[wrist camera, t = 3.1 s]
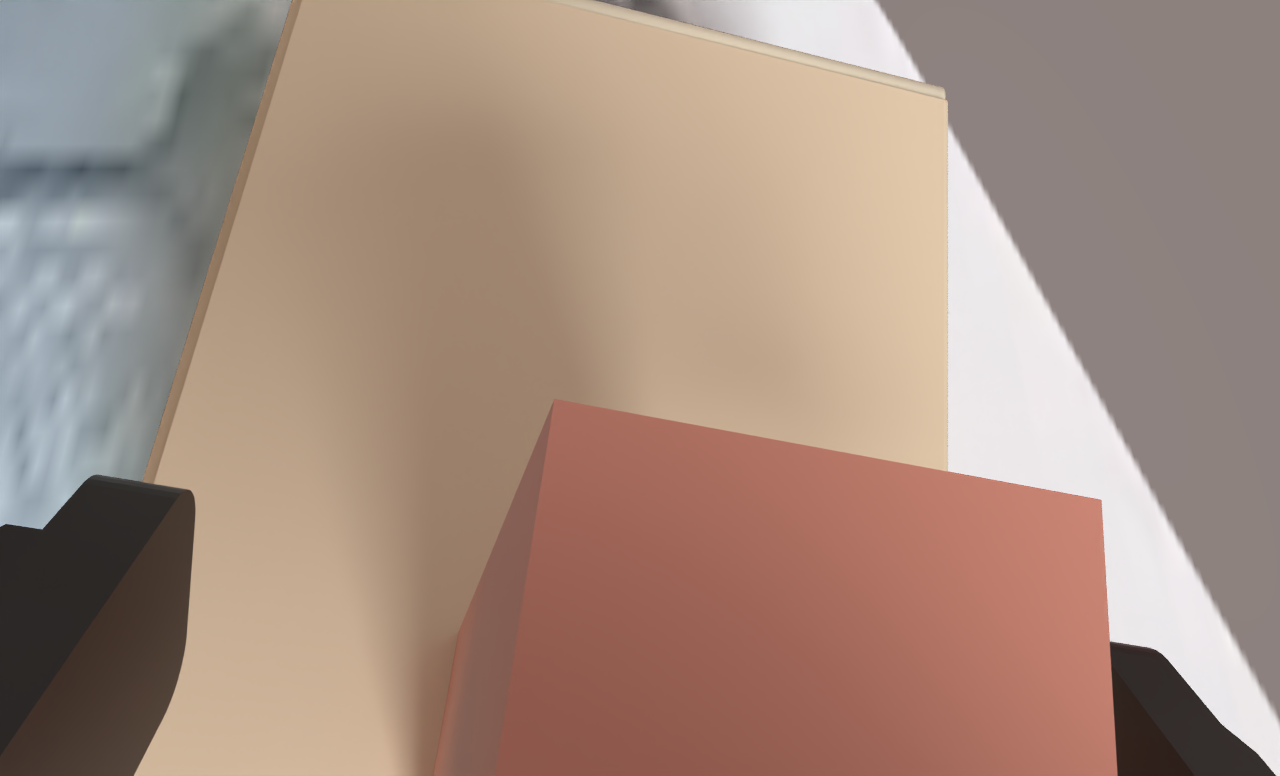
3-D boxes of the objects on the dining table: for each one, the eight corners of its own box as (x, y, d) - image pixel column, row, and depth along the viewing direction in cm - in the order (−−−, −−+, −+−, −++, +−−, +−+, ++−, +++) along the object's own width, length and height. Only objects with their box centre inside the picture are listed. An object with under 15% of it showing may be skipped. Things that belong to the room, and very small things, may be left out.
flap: (914, 949, 15) (1979, 1354, 5) (61, 863, 13) (-1144, 1235, 3) (923, 106, 21) (1420, -520, 10) (331, -41, 19) (241, -979, 9)
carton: (747, 929, 23) (937, 1026, 15) (159, 869, 21) (-3, 944, 13) (788, 311, 29) (940, 133, 21) (332, 216, 27) (299, -23, 19)
